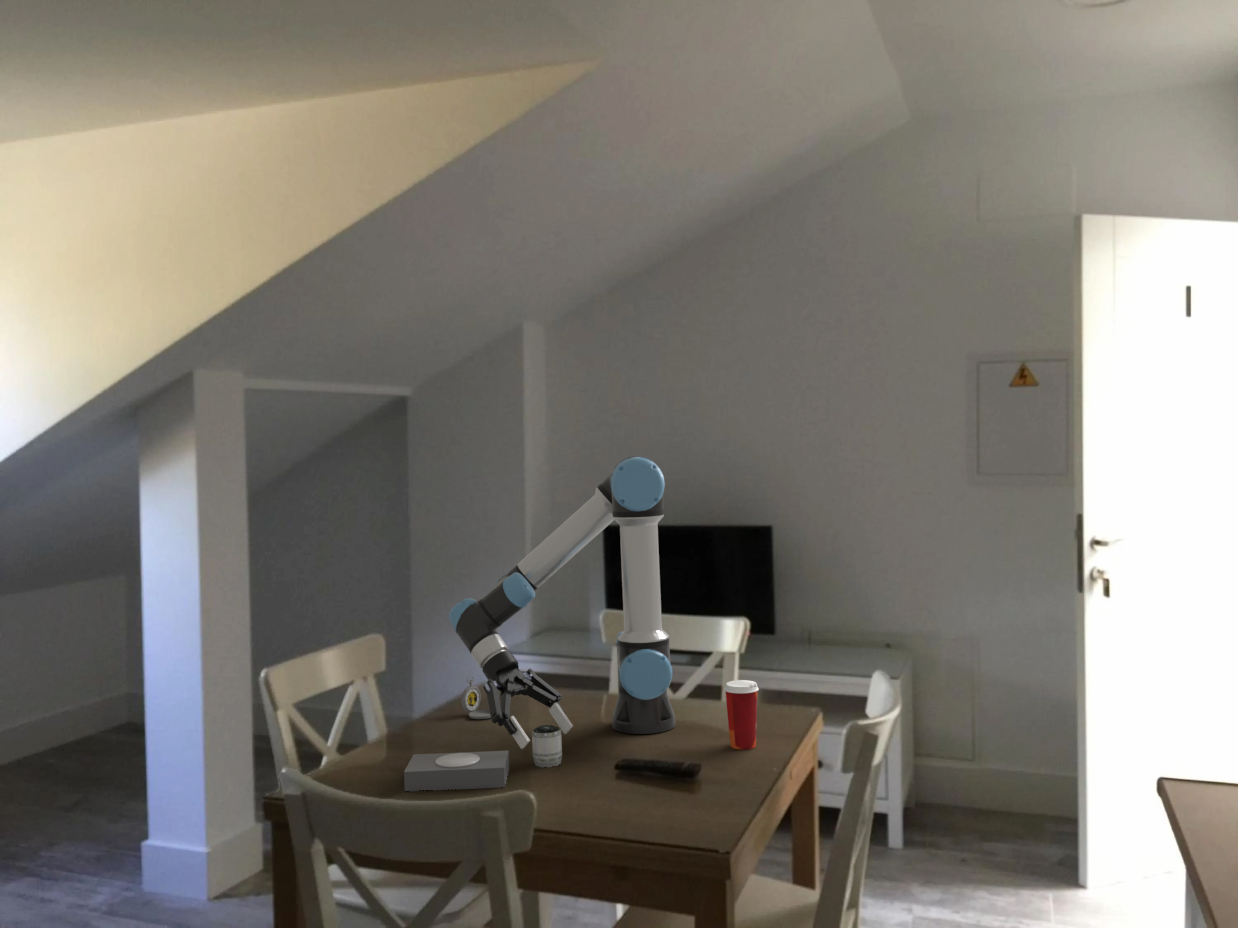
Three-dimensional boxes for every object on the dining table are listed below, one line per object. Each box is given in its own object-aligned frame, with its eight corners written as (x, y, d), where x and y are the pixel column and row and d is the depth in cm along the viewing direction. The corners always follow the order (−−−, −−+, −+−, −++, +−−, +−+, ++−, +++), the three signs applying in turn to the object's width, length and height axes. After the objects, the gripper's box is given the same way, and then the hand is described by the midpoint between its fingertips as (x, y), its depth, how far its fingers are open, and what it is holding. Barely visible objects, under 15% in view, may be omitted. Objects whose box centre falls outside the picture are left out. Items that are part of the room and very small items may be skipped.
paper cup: (767, 744, 242) (765, 682, 242) (746, 752, 237) (744, 688, 236) (739, 739, 248) (737, 677, 247) (718, 746, 242) (716, 684, 242)
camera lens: (549, 757, 238) (547, 721, 238) (568, 762, 234) (567, 726, 234) (527, 764, 234) (525, 727, 234) (546, 769, 229) (544, 732, 229)
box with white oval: (509, 769, 231) (508, 748, 231) (504, 787, 219) (504, 765, 219) (414, 773, 230) (413, 752, 230) (404, 791, 218) (403, 770, 218)
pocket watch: (493, 720, 272) (492, 680, 272) (460, 721, 272) (458, 681, 272) (497, 711, 280) (496, 673, 280) (465, 712, 280) (463, 674, 280)
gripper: (526, 660, 254) (577, 734, 244) (445, 681, 234) (497, 762, 225) (542, 639, 250) (594, 713, 241) (462, 659, 231) (515, 740, 222)
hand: (547, 737), depth 233 cm, fingers open, 13 cm apart
